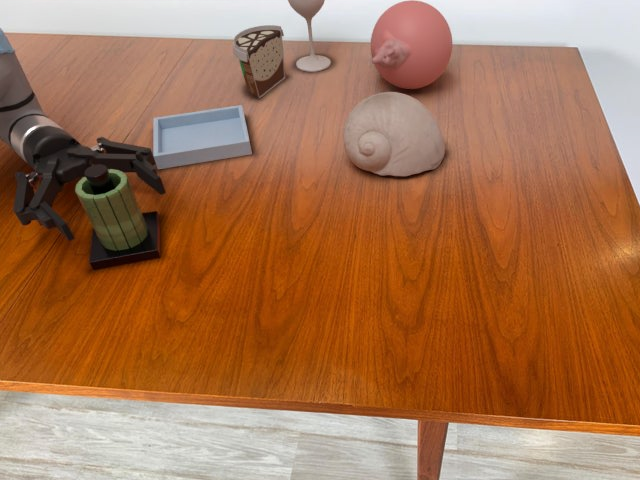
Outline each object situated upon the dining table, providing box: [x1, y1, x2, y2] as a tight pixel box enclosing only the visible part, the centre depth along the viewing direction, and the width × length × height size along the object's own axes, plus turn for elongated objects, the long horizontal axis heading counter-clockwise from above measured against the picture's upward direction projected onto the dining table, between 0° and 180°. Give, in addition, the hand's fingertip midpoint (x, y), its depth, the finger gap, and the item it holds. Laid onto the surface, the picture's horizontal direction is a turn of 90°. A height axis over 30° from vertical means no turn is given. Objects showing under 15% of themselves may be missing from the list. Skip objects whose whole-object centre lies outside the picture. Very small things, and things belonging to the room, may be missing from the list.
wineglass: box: [287, 0, 332, 73], centre depth 114 cm, size 8×8×21 cm
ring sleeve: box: [74, 169, 148, 251], centre depth 79 cm, size 6×6×9 cm
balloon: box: [370, 0, 453, 90], centre depth 108 cm, size 15×20×15 cm
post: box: [84, 165, 161, 271], centre depth 79 cm, size 9×9×12 cm
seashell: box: [342, 91, 446, 177], centre depth 95 cm, size 15×14×15 cm
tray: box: [152, 104, 253, 170], centre depth 101 cm, size 16×13×3 cm
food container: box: [232, 24, 286, 100], centre depth 112 cm, size 12×6×10 cm, turn 154°
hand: (116, 208), depth 79 cm, fingers open, 13 cm apart
